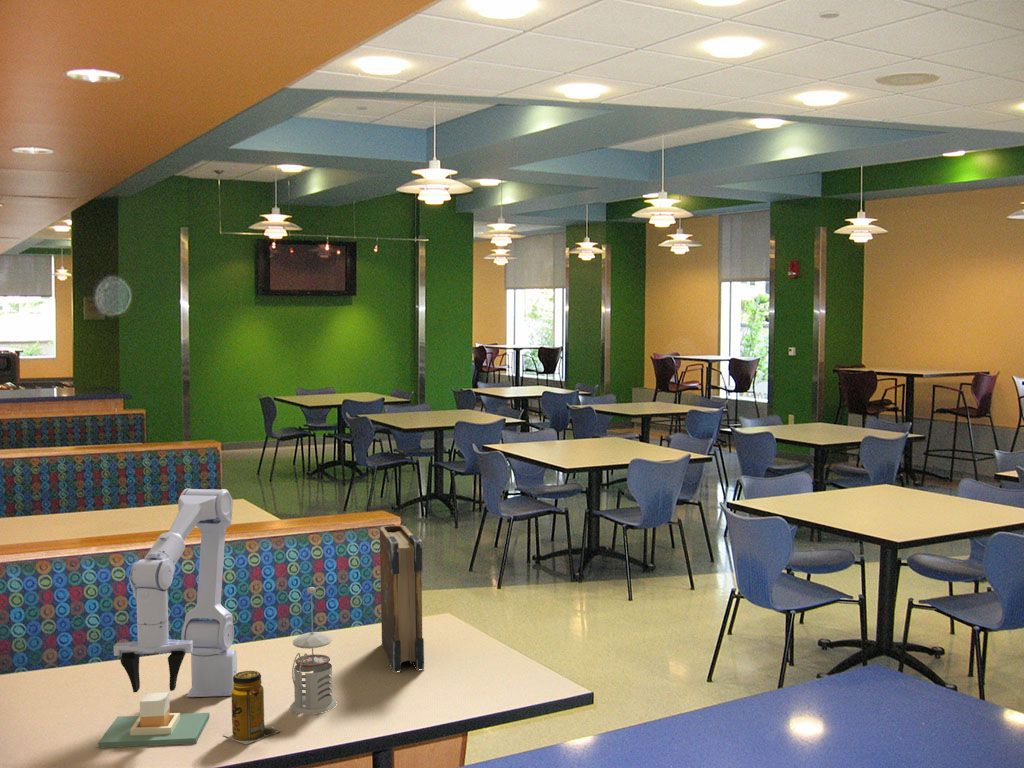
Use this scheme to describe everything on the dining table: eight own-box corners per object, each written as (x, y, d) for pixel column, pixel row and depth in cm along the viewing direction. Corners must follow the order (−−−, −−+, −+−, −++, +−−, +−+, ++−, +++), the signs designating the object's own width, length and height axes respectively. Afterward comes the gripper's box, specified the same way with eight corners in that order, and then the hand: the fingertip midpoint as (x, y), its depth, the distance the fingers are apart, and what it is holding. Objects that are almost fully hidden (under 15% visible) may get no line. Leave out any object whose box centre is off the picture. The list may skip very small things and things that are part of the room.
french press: (346, 699, 217) (344, 583, 216) (318, 719, 206) (316, 597, 205) (305, 694, 221) (302, 579, 219) (275, 714, 210) (273, 593, 208)
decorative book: (424, 670, 236) (422, 540, 234) (393, 673, 234) (391, 542, 232) (406, 640, 258) (405, 521, 257) (378, 642, 256) (376, 523, 255)
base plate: (209, 717, 208) (209, 706, 208) (196, 743, 195) (195, 731, 195) (117, 721, 206) (117, 710, 206) (98, 747, 194) (97, 736, 193)
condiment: (223, 736, 199) (221, 675, 198) (259, 722, 205) (258, 663, 205) (245, 745, 194) (244, 683, 193) (282, 732, 201) (281, 671, 200)
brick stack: (169, 722, 203) (169, 692, 203) (164, 731, 199) (163, 700, 198) (146, 723, 203) (145, 693, 202) (140, 732, 198) (139, 701, 198)
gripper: (108, 628, 195) (110, 698, 196) (186, 625, 196) (188, 695, 197) (118, 617, 202) (120, 685, 203) (194, 615, 203) (196, 682, 204)
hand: (154, 689), depth 200 cm, fingers open, 6 cm apart
